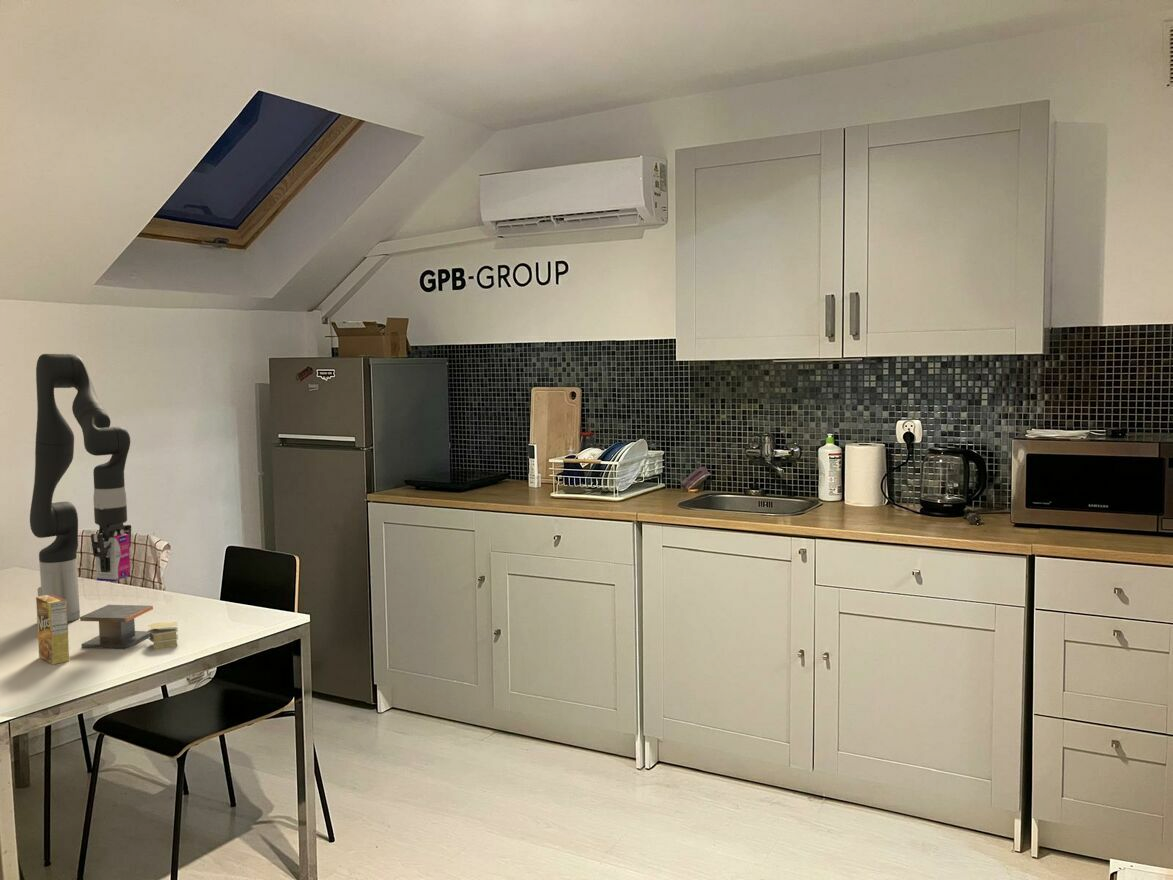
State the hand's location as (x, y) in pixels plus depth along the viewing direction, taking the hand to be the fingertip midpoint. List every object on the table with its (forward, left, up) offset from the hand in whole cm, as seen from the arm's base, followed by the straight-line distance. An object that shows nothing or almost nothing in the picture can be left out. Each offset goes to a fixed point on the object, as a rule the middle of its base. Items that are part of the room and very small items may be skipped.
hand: (113, 568), depth 244 cm
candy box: (-7, -15, -19) cm, 26 cm away
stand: (0, 0, -19) cm, 19 cm away
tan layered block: (+14, -2, -20) cm, 24 cm away
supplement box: (0, 0, -3) cm, 3 cm away
